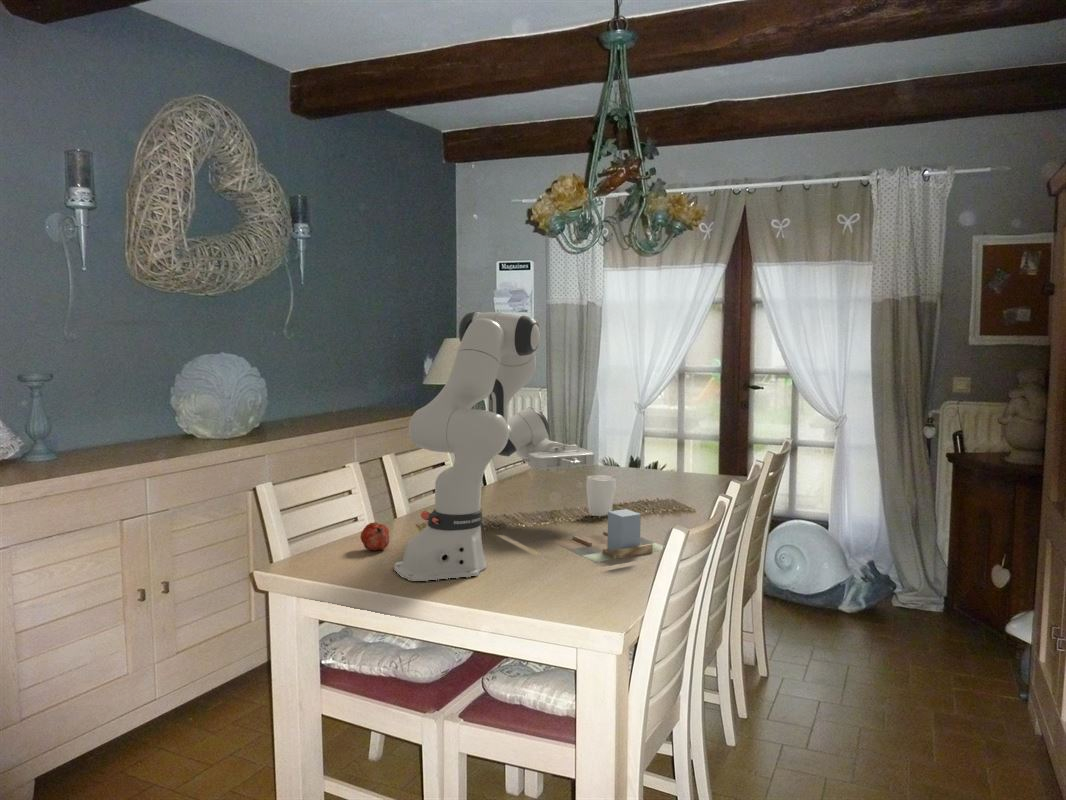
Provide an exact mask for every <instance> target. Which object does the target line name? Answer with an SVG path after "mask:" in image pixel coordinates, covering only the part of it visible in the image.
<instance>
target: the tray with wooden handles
mask: <svg viewBox="0 0 1066 800" xmlns="http://www.w3.org/2000/svg"><path fill="white" fill-rule="evenodd" d="M607 539H608V530H602V533H599V534H593V535H588V536H577V535H572V538H568V539H563V540H562V539H561V540H555V541H553V543H554V544H556V545H559V546H560V547H562V548H565V550H566V549H567V550H569V551H571V552H573V553H575V554H577V555H579V556H581V557H583V558H585V559H588V560H590V561H591V562H594V563H599V562H605V561H610V560H617V559H621V558H628V557H634V556H639V555H643V554H644V555H645V554H649V553H655V552H661V551H663V550H662V549H663V546H664V545H662V544H659V543H657V542H654V541H652V540H649V539H646V538H644V537H641V536H640V546H636V547H630V548H624V549H618V550H614V552H613V551H610V550H608V549H607Z"/></svg>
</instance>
